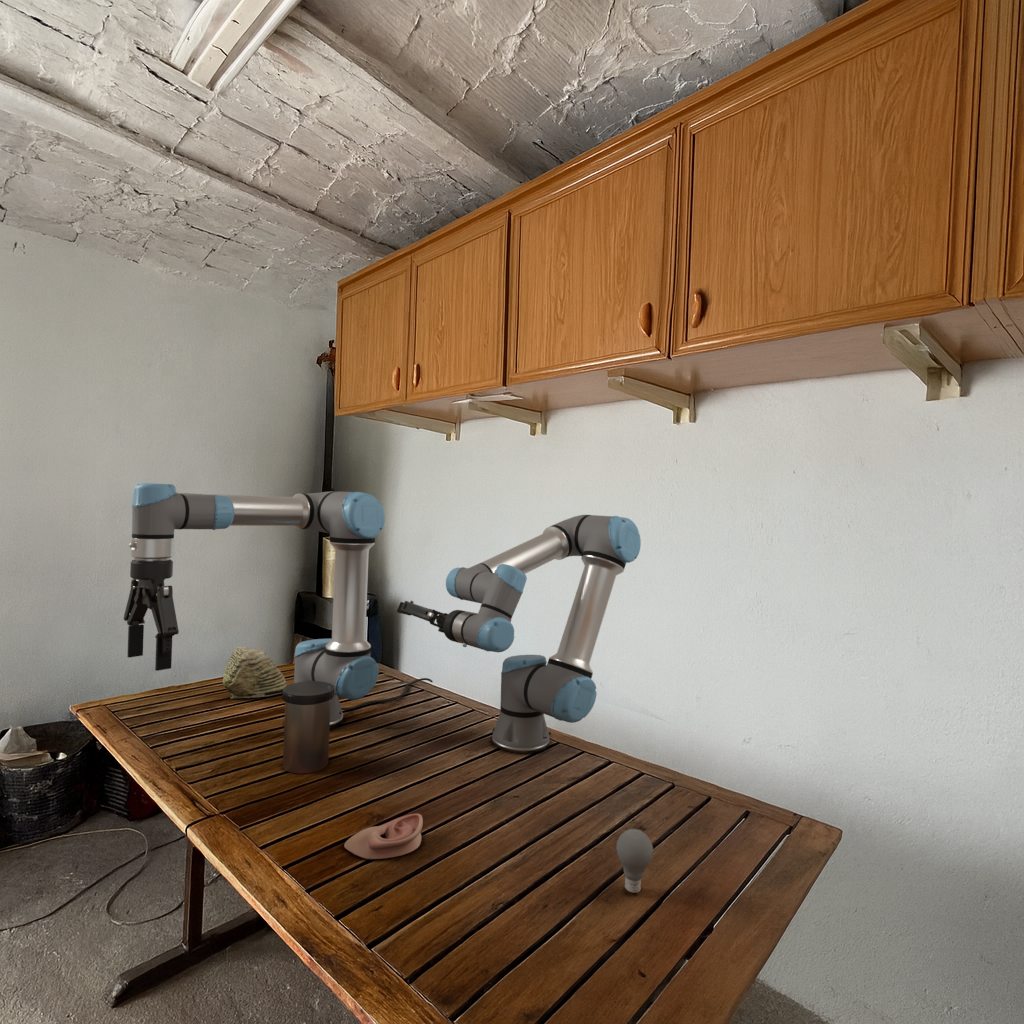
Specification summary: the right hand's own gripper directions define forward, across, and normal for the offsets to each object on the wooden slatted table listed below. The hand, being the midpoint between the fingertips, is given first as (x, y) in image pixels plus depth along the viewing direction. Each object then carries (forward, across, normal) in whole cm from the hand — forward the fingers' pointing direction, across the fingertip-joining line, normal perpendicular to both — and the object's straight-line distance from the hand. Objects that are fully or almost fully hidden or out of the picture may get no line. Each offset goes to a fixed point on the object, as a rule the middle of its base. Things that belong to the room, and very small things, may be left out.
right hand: (420, 617), depth 166 cm
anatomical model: (-39, -10, -44) cm, 59 cm away
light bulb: (-74, +17, -34) cm, 83 cm away
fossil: (+60, -10, -37) cm, 72 cm away
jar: (+2, -12, -42) cm, 44 cm away
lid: (+1, -19, -26) cm, 32 cm away
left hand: (+1, -54, -31) cm, 62 cm away
